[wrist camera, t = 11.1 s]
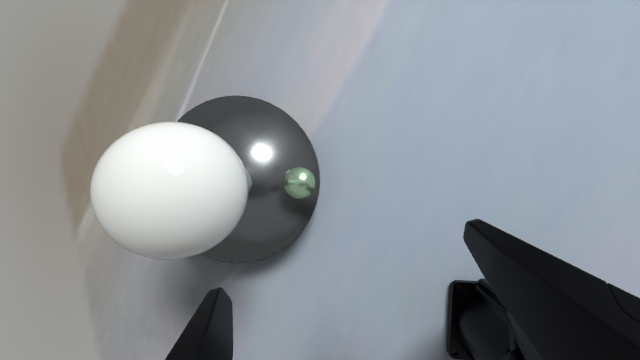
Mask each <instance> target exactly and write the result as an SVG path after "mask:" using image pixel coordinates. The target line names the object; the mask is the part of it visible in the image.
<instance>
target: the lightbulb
mask: <svg viewBox="0 0 640 360" xmlns="http://www.w3.org/2000/svg"><path fill="white" fill-rule="evenodd" d="M251 188H252V178H251V176H250V174H249V172H248V171H247V170H246V169H245V168H244V166H243V164H242V162H241V160H240V158H239V156H238V155H237V153H236V152H235V151H234V150H233V148H232V147H231V146H230V145H229V144H228V143H227V142H226V141H225V140H223V139H222V138H221V137H219V136H218V135H216V134H215V133H213V132H211V131H209V130H207V129H205V128H202V127H200V126H196V125H193V124H188V123H182V122H159V123H153V124H148V125H145V126H142V127H139V128H136V129H134V130H132V131H130V132H128V133H126V134H124V135H123V136H121V137H120V138H119V139H117V140H116V141H115V142H114V143H112V144H111V145H110V146H109V147H108V149H107V150H106V151H105V152H104V153H103V155H102V156H101V158H100V159H99V161H98V163H97V165H96V167H95V169H94V172H93V175H92V179H91V185H90V199H91V205H92V209H93V212H94V215H95V217H96V219H97V221H98V223H99V225H100V226H101V228H102V229H103V230H104V232H105V233H106V234H107V235H108V236H109V237H110V238H111V239H112V240H113V241H114V242H116V243H117V244H118V245H120V246H121V247H123V248H125V249H126V250H128V251H130V252H132V253H135V254H137V255H140V256H144V257H148V258H153V259H161V260H173V259H182V258H187V257H191V256H195V255H198V254H201V253H203V252H205V251H207V250H209V249H211V248H213V247H214V246H216V245H218V244H219V243H220V242H222V241H223V240H224V239H225V238H226V237H227V236H228V235H229V234H230V233H231V232H232V231H233V230H234V228H235V227H236V226H237V224H238V223H239V221H240V219H241V217H242V215H243V213H244V210H245V207H246V204H247V199H248V194H249V192H250V191H251Z"/></svg>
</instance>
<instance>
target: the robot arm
mask: <svg viewBox="0 0 640 360" xmlns="http://www.w3.org/2000/svg"><path fill="white" fill-rule="evenodd" d="M463 238H464V242H465V244H466V245H467V247H468V249H469V251H470V252H471V254H472V256H473V258H474V260H475V261H476V263H477V265H478V267H479V268H480V270H481V272H482V274H483V275H484V277H485V279H480V280H478V281H463V280H455V281H453V282H452V283H451V289H450V307H449V324H448V342H447V352H448V353H449V355H450V357H451V358H453V359H461V360H640V298H638V297H636V296H634V295H632V294H630V293H628V292H626V291H624V290H622V289H620V288H618V287H616V286H614V285H612V284H609V283H606V282H605V281H603V280H601V279H599V278H597V277H595V276H593V275H591V274H589V273H587V272H585V271H583V270H581V269H579V268H577V267H575V266H573V265H571V264H569V263H567V262H565V261H563V260H561V259H559V258H557V257H555V256H553V255H551V254H549V253H547V252H545V251H543V250H541V249H539V248H537V247H535V246H533V245H531V244H529V243H527V242H525V241H523V240H521V239H518V238H516V237H514V236H512V235H510V234H508V233H506V232H504V231H502V230H500V229H498V228H496V227H494V226H492V225H490V224H488V223H486V222H484V221H482V220H480V219H474V220H471V221H467V222H466V224H465V230H464V236H463ZM457 285H460V288H459V289H456V286H457ZM454 350H456V352H455V353H452V352H453V351H454ZM232 359H233V315H232V301H231V299H230V297H229V296H228V295H227V293H226V292H225V291H224V290H223V289H222V288H216V289H212V290H210V291H209V292H208V293H207V295H206V296H205V298H204V299H203V301H202V303H201V304H200V306H199V307H198V309H197V310H196V312H195V313H194V315H193V317H192V318H191V320H190V321H189V323H188V324H187V326H186V328H185V329H184V331H183V332H182V334H181V335H180V337H179V339H178V340H177V342H176V343H175V345H174V346H173V348H172V350H171V351H170V353H169V354H168V356H167V357H166V359H165V360H232Z"/></svg>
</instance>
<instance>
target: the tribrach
mask: <svg viewBox="0 0 640 360" xmlns="http://www.w3.org/2000/svg"><path fill="white" fill-rule="evenodd" d="M177 122H182V123H188V124H193V125H196V126H200V127H202V128H205V129H207V130H209V131H211V132H213V133H215V134H216V135H218V136H219V137H221V138H222V139H223V140H225V141H226V142H227V143H228V144H229V145H230V146H231V147H232V148H233V150H234V151H235V152H236V153H237V155H238V156H239V158H240V160H241V162H242V164H243V166H244V168H245V169H246V170H247V171H248V172H249V174H250V176H251V178H252V188H251V191H250V192H249V194H248V199H247V204H246V207H245V210H244V213H243V215H242V217H241V219H240V221H239V223H238V224H237V226H236V227H235V228H234V230H233V231H232V232H231V233H230V234H229V235H228V236H227V237H226V238H225V239H224V240H223V241H222V242H220V243H219V244H218V245H216V246H214V247H213V248H211V249H209V250H207V251H205V252H203V253H201V254H202V255H204V256H206V257H209V258H211V259H214V260H218V261H222V262H229V263H247V262H254V261H258V260H262V259H265V258H267V257H270V256H272V255H274V254H276V253H278V252H280V251H281V250H283V249H284V248H286V247H287V246H288V245H289V244H291V243H292V242H293V241H294V240H295V239H296V238H297V237H298V236H299V235H300V234H301V232H302V231H303V229H304V228H305V227H306V225H307V223H308V222H309V220H310V218H311V216H312V214H313V212H314V209H315V206H316V204H317V200H318V195H319V188H320V171H319V165H318V160H317V157H316V154H315V151H314V148H313V146H312V144H311V142H310V140H309V139H308V137H307V135H306V134H305V132H304V131H303V130H302V128H301V127H300V126H299V125H298V124H297V122H296V121H295V120H294V119H292V118H291V117H290V116H289V115H288V114H287V113H286V112H285V111H283V110H281V109H280V108H278V107H276V106H274V105H272V104H271V103H268V102H266V101H263V100H260V99H257V98H252V97H246V96H226V97H220V98H215V99H212V100H209V101H206V102H204V103H202V104H200V105H198V106H196V107H194V108H193V109H191V110H190V111H188V112H187V113H186V114H185V115H183V116H182V117H181V118H180V119H179V120H178V121H177Z"/></svg>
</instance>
